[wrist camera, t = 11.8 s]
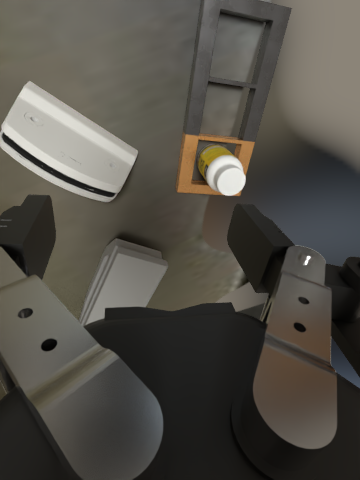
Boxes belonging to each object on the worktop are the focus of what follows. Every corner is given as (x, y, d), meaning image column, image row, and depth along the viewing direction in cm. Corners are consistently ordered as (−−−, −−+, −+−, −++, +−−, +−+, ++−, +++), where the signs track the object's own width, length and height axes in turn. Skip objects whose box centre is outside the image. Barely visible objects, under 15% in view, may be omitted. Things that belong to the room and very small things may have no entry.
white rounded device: (140, 152, 41) (131, 194, 35) (125, 172, 44) (114, 215, 38) (26, 78, 34) (-14, 114, 27) (17, 108, 37) (-21, 148, 30)
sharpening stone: (118, 216, 47) (118, 252, 38) (159, 229, 50) (168, 266, 41) (77, 313, 57) (69, 360, 48) (113, 320, 60) (112, 365, 51)
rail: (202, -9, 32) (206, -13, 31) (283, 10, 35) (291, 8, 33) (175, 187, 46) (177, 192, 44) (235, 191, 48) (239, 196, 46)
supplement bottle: (191, 151, 43) (207, 172, 35) (223, 137, 42) (246, 155, 34) (201, 181, 46) (218, 206, 38) (231, 168, 46) (254, 191, 37)
